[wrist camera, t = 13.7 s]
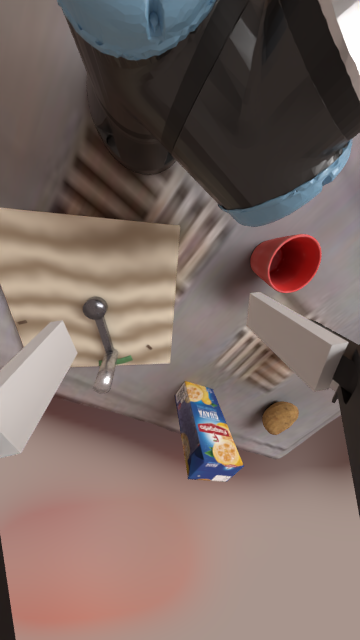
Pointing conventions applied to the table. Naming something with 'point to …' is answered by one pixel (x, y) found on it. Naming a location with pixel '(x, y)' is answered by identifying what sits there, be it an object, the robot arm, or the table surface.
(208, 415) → the beverage box
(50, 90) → the table surface
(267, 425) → the potato
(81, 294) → the dial board
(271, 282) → the flower pot
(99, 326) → the grey long handled part
